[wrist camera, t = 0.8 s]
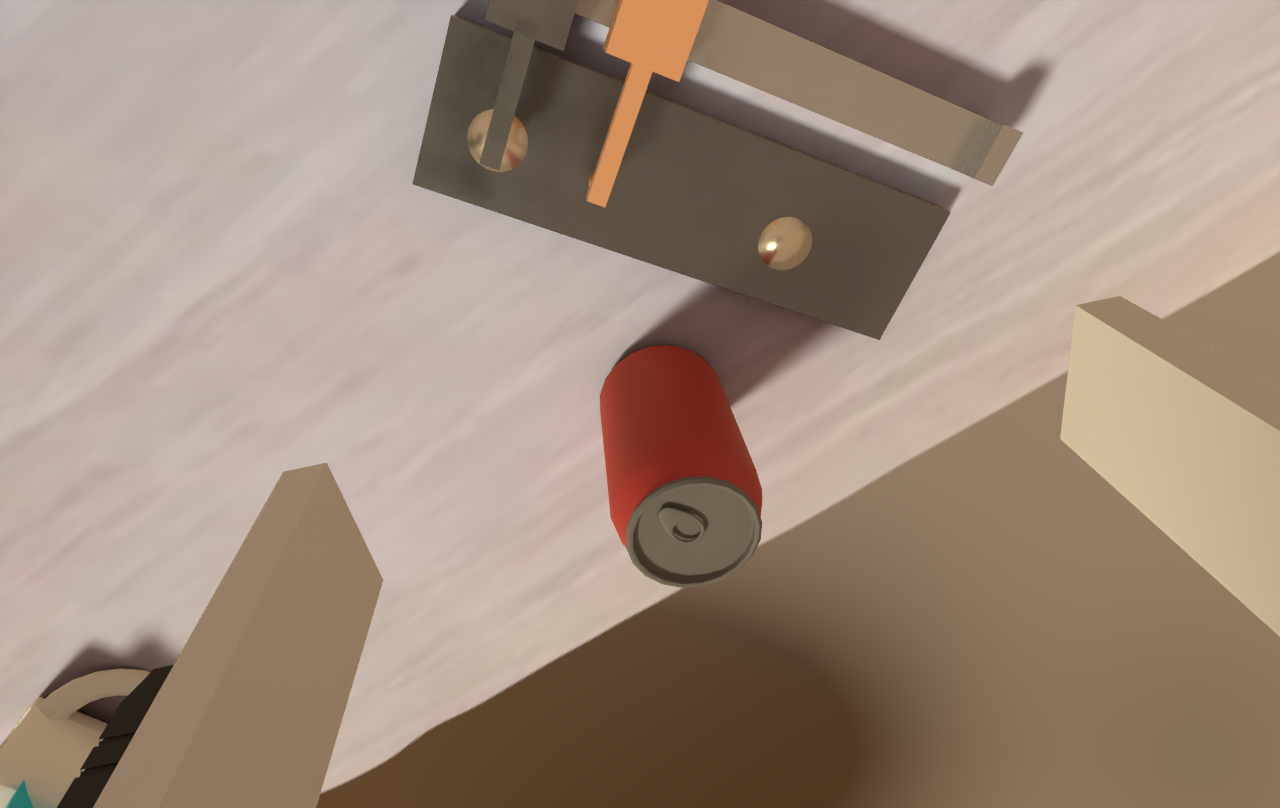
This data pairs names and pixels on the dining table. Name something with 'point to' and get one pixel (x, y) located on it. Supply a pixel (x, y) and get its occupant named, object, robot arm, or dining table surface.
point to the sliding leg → (642, 69)
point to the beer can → (678, 469)
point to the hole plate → (675, 187)
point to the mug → (57, 739)
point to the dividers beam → (771, 83)
